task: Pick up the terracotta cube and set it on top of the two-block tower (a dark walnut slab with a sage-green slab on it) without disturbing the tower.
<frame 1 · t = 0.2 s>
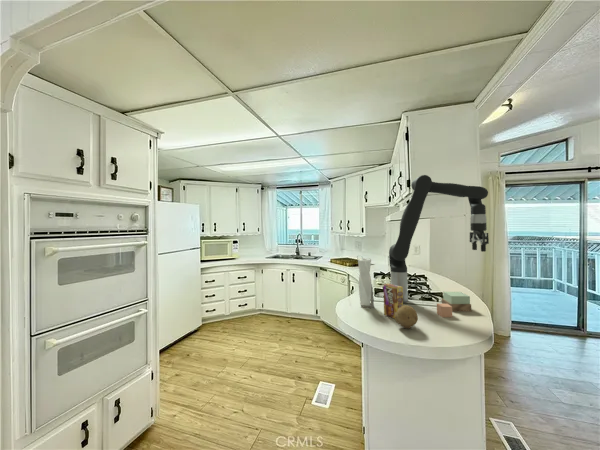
hand: (478, 250, 145), 29 cm above the worktop, tool pointing down, fingers open, 8 cm apart
tower base block: (456, 308, 135), on the worktop, touching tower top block
terracotta block: (444, 315, 125), on the worktop
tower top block: (456, 301, 135), point 4 cm above the worktop, touching tower base block
candy box: (393, 316, 125), on the worktop
skyscraper: (365, 305, 143), on the worktop
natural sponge: (407, 329, 110), on the worktop
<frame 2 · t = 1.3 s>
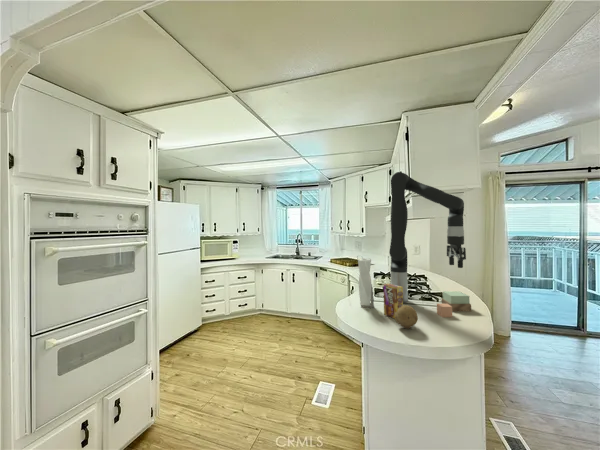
hand: (455, 266, 132), 23 cm above the worktop, tool pointing down, fingers open, 8 cm apart
nothing on the worktop moved.
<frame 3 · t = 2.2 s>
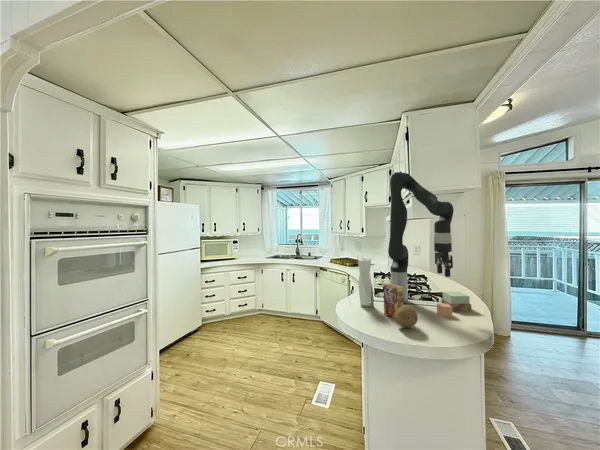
hand: (443, 274, 125), 20 cm above the worktop, tool pointing down, fingers open, 8 cm apart
nothing on the worktop moved.
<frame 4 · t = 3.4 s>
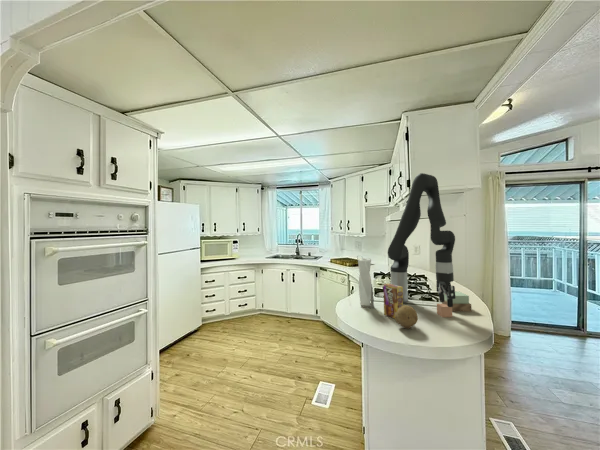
hand: (445, 304, 125), 5 cm above the worktop, tool pointing down, fingers open, 8 cm apart
nothing on the worktop moved.
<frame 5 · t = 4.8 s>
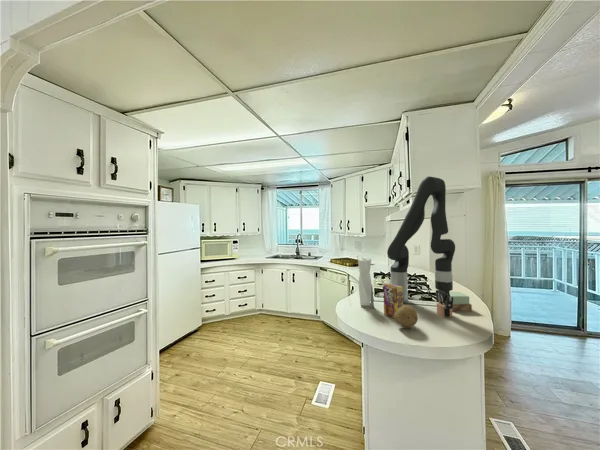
hand: (444, 314, 125), 0 cm above the worktop, tool pointing down, fingers closed on terracotta block, 5 cm apart
terracotta block: (444, 315, 125), on the worktop, touching gripper
everything else where it was.
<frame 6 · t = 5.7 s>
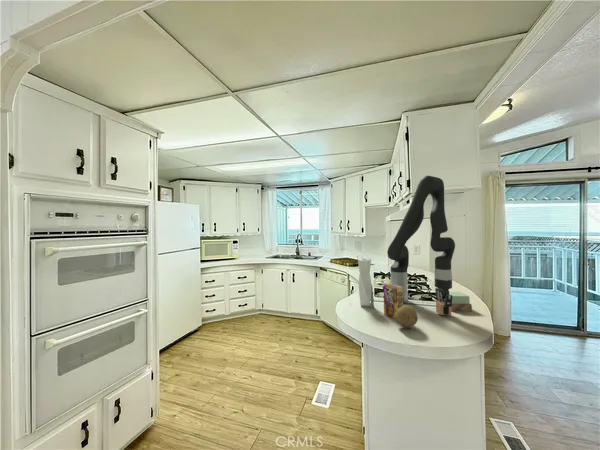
hand: (443, 312, 125), 1 cm above the worktop, tool pointing down, fingers closed on terracotta block, 5 cm apart
terracotta block: (443, 313, 125), point 1 cm above the worktop, touching gripper
everything else where it was.
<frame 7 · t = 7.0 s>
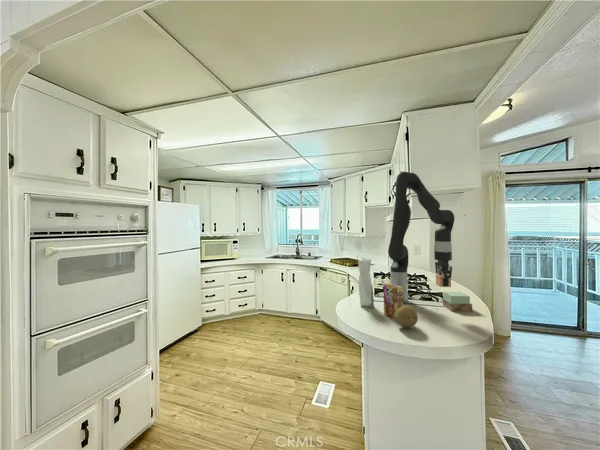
hand: (443, 284, 125), 15 cm above the worktop, tool pointing down, fingers closed on terracotta block, 5 cm apart
terracotta block: (443, 285, 125), point 14 cm above the worktop, touching gripper
everything else where it was.
when the fingers open (10 cm above the worktop, at t = 11.6 s): terracotta block drops 2 cm, resting on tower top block.
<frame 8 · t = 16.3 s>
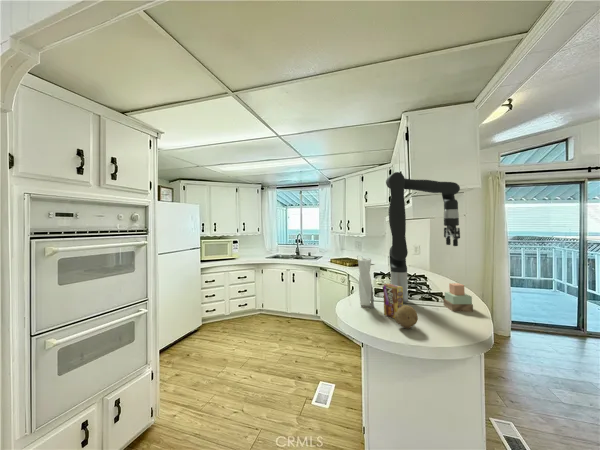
hand: (451, 245, 147), 32 cm above the worktop, tool pointing down, fingers open, 8 cm apart
terracotta block: (456, 293, 135), point 8 cm above the worktop, touching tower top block
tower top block: (458, 301, 134), point 4 cm above the worktop, touching terracotta block, tower base block
everything else where it was.
at the end: terracotta block 0.3 cm off-centre on the tower base block, point 8.0 cm above the tower base block's base; terracotta block tilted 0°; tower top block 0.2 cm from the tower base block (horizontally) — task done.
